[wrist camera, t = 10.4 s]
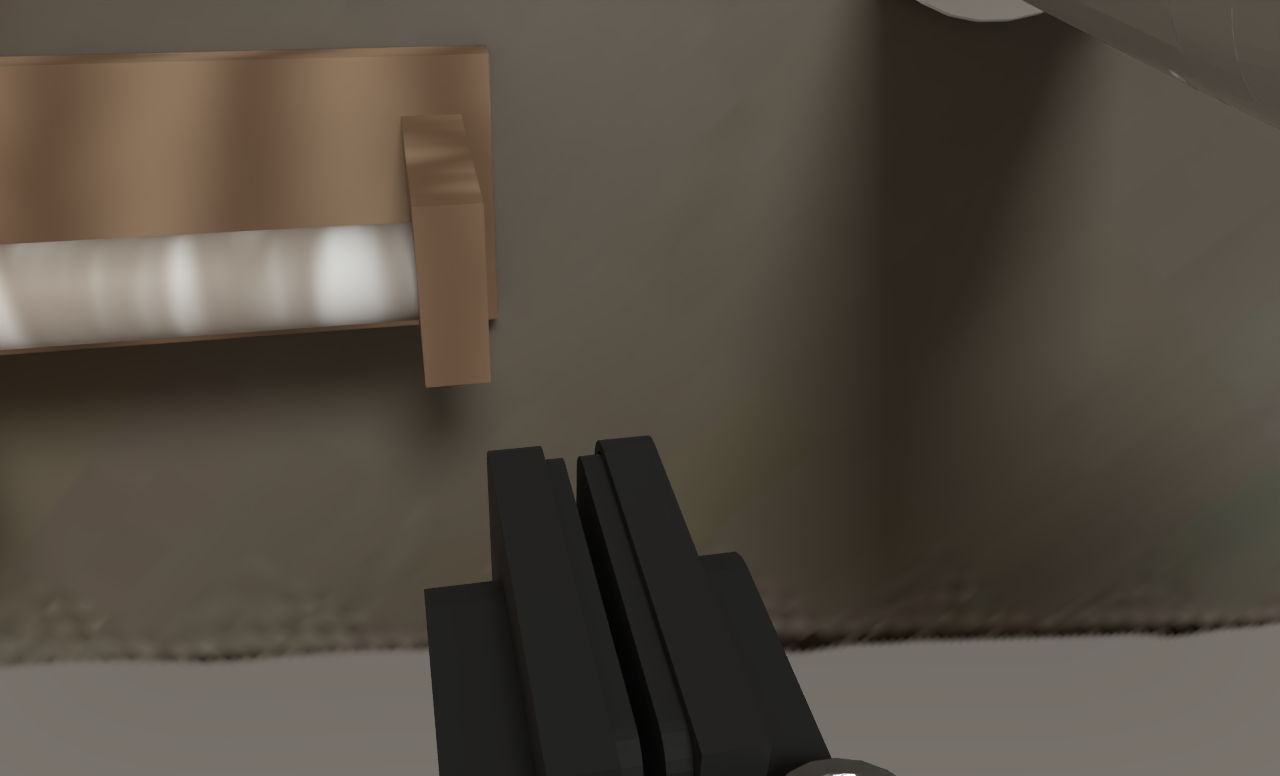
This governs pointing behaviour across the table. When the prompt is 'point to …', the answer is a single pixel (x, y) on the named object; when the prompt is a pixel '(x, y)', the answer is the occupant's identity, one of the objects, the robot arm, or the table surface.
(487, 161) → the pipe stand
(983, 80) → the table surface
